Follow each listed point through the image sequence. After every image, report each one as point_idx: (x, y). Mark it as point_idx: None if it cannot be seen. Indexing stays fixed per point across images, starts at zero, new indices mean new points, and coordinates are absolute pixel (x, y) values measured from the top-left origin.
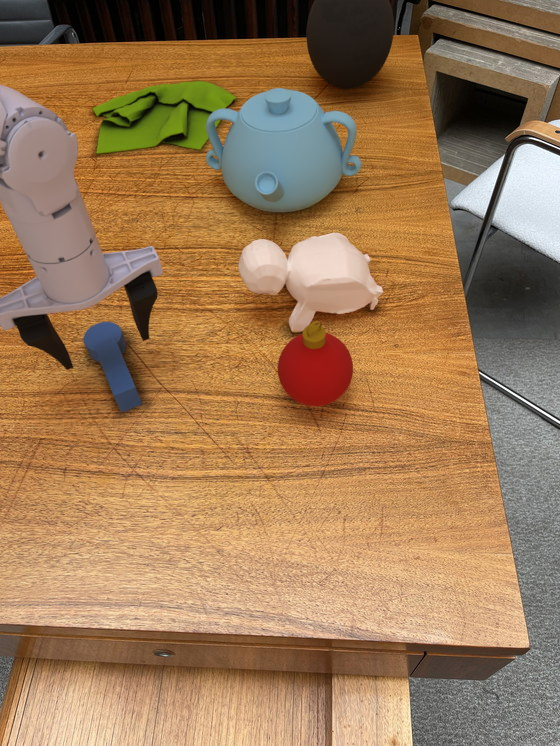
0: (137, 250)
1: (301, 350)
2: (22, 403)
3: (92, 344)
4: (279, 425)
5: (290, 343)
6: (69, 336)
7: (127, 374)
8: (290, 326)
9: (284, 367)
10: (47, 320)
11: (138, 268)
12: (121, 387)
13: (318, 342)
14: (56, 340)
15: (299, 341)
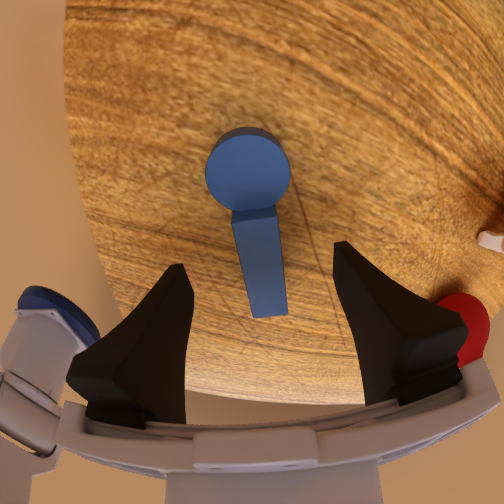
0: (472, 419)
1: (461, 364)
2: (110, 234)
3: (224, 191)
4: None
5: (464, 344)
6: (172, 110)
7: (282, 295)
8: (481, 239)
9: None
10: (165, 401)
11: (426, 446)
12: (267, 311)
13: None
14: (180, 374)
15: (469, 355)
